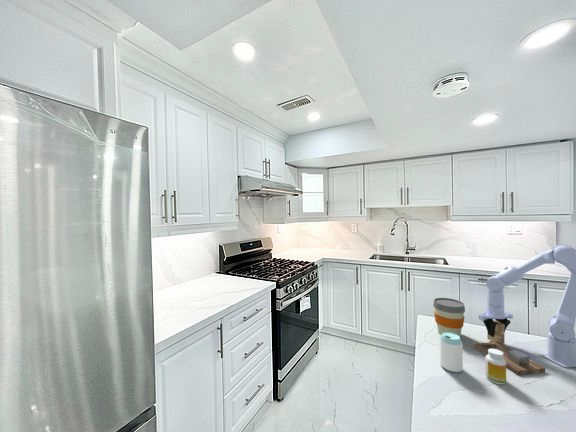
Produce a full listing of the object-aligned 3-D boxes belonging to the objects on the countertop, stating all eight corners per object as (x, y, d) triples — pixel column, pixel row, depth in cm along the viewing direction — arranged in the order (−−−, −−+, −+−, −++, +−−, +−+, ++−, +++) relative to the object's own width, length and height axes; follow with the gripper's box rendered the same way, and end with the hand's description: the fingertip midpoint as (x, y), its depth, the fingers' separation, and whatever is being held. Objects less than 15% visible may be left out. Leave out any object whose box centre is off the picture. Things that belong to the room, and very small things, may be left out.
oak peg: (495, 338, 109) (495, 320, 109) (504, 342, 105) (504, 324, 105) (487, 338, 109) (487, 320, 109) (496, 343, 105) (496, 325, 105)
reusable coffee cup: (468, 333, 115) (467, 301, 115) (461, 343, 107) (461, 309, 107) (437, 325, 124) (437, 295, 124) (429, 333, 116) (429, 302, 116)
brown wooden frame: (497, 345, 105) (497, 341, 105) (545, 372, 87) (545, 368, 87) (473, 347, 104) (473, 343, 104) (517, 375, 86) (517, 370, 86)
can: (463, 376, 86) (462, 342, 86) (439, 369, 90) (439, 337, 90) (462, 365, 92) (461, 333, 92) (440, 359, 96) (439, 329, 96)
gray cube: (517, 362, 93) (517, 350, 93) (528, 368, 89) (528, 356, 89) (508, 363, 93) (508, 351, 93) (519, 369, 89) (519, 357, 89)
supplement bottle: (510, 386, 81) (510, 356, 81) (491, 384, 82) (491, 355, 82) (499, 375, 86) (499, 348, 86) (482, 373, 87) (482, 346, 87)
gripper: (501, 300, 112) (501, 329, 112) (472, 302, 110) (472, 331, 110) (517, 306, 105) (517, 337, 105) (486, 308, 103) (487, 340, 103)
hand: (495, 335), depth 107 cm, fingers closed on oak peg, 4 cm apart
